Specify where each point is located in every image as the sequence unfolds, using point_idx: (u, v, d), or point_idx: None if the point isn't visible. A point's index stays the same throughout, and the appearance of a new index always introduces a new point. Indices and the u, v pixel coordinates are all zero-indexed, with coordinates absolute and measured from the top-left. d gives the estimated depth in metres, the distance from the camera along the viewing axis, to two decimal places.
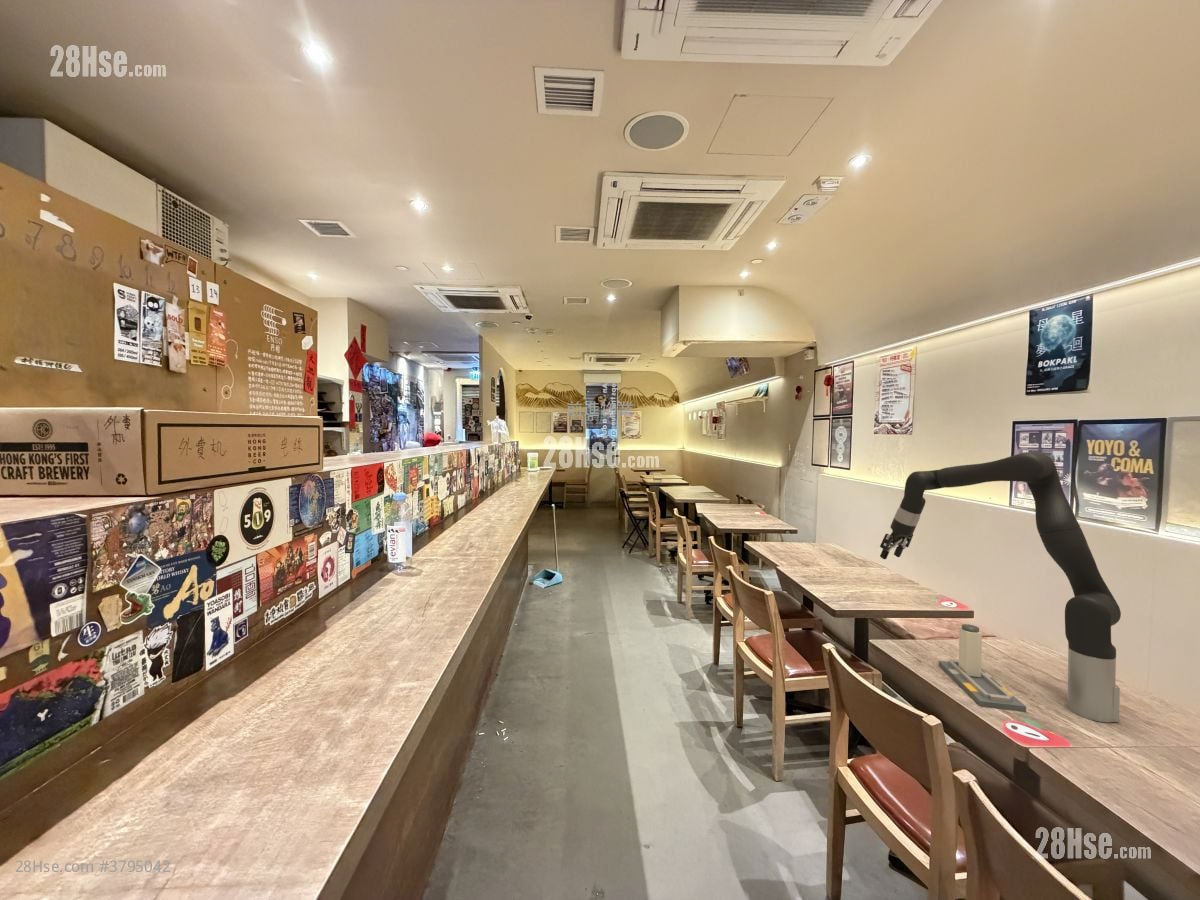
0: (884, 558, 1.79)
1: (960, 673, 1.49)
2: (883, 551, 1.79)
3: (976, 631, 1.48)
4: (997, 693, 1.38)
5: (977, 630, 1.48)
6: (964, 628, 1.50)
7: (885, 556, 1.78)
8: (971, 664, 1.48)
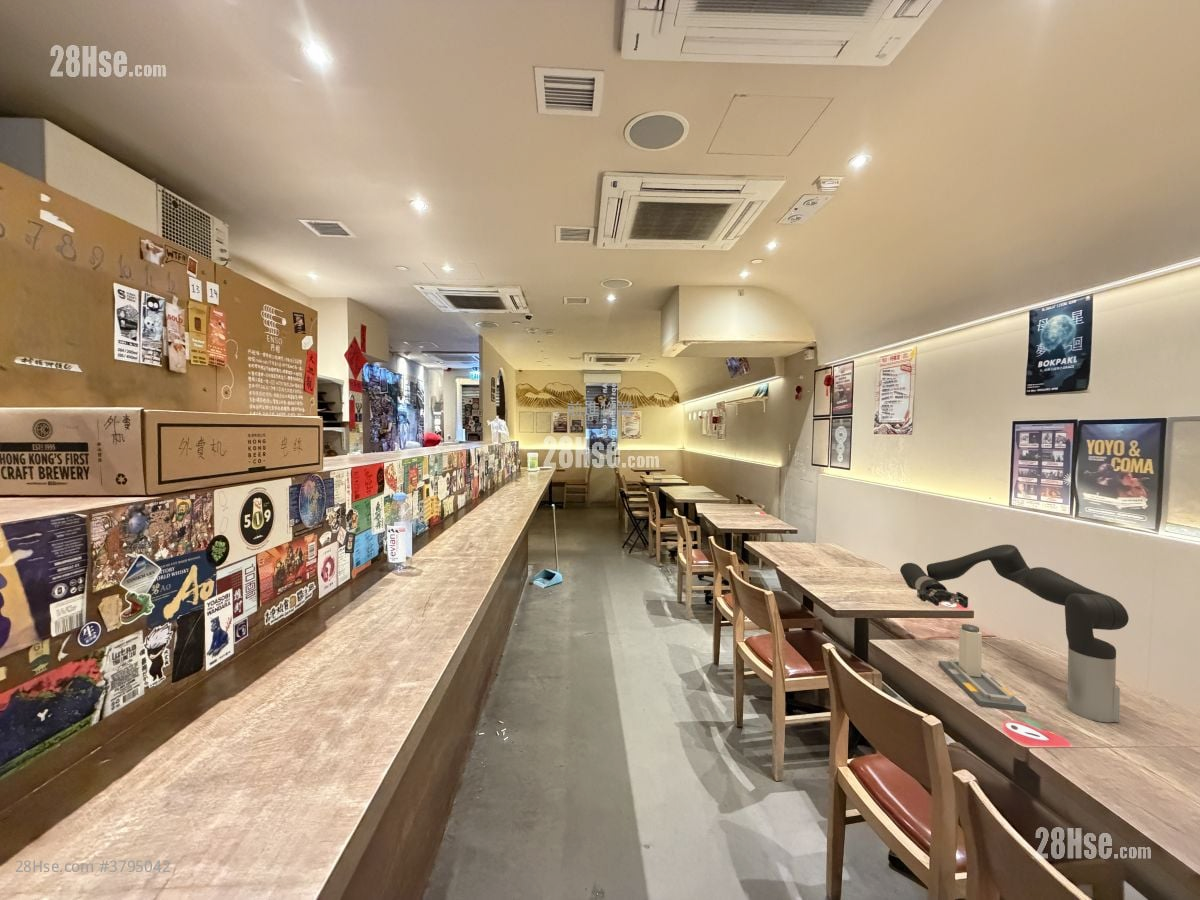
0: None
1: (960, 673, 1.49)
2: None
3: (976, 631, 1.48)
4: (997, 693, 1.38)
5: (977, 630, 1.48)
6: (964, 628, 1.50)
7: None
8: (971, 664, 1.48)
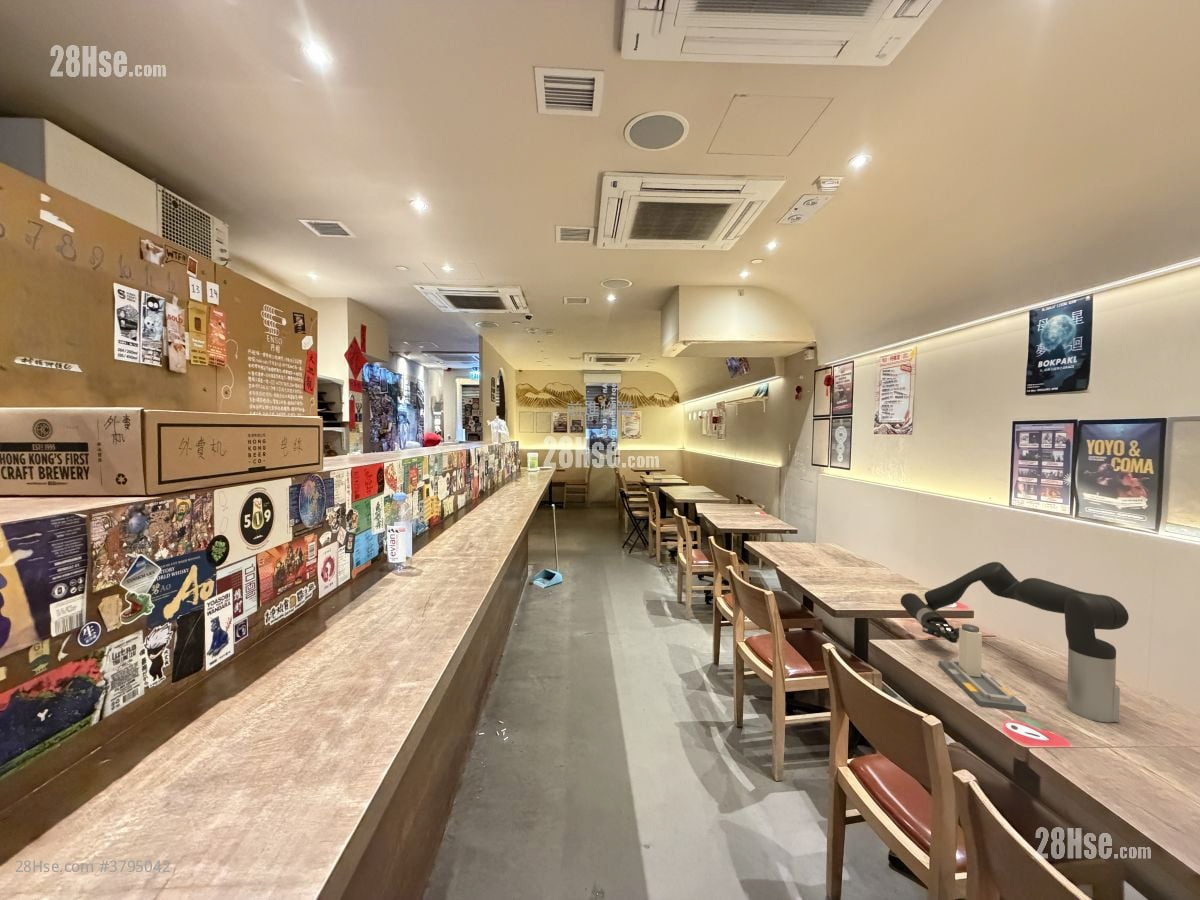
0: (955, 642, 1.60)
1: (960, 673, 1.49)
2: None
3: (976, 631, 1.48)
4: (997, 693, 1.38)
5: (977, 630, 1.48)
6: (964, 628, 1.50)
7: None
8: (971, 664, 1.48)
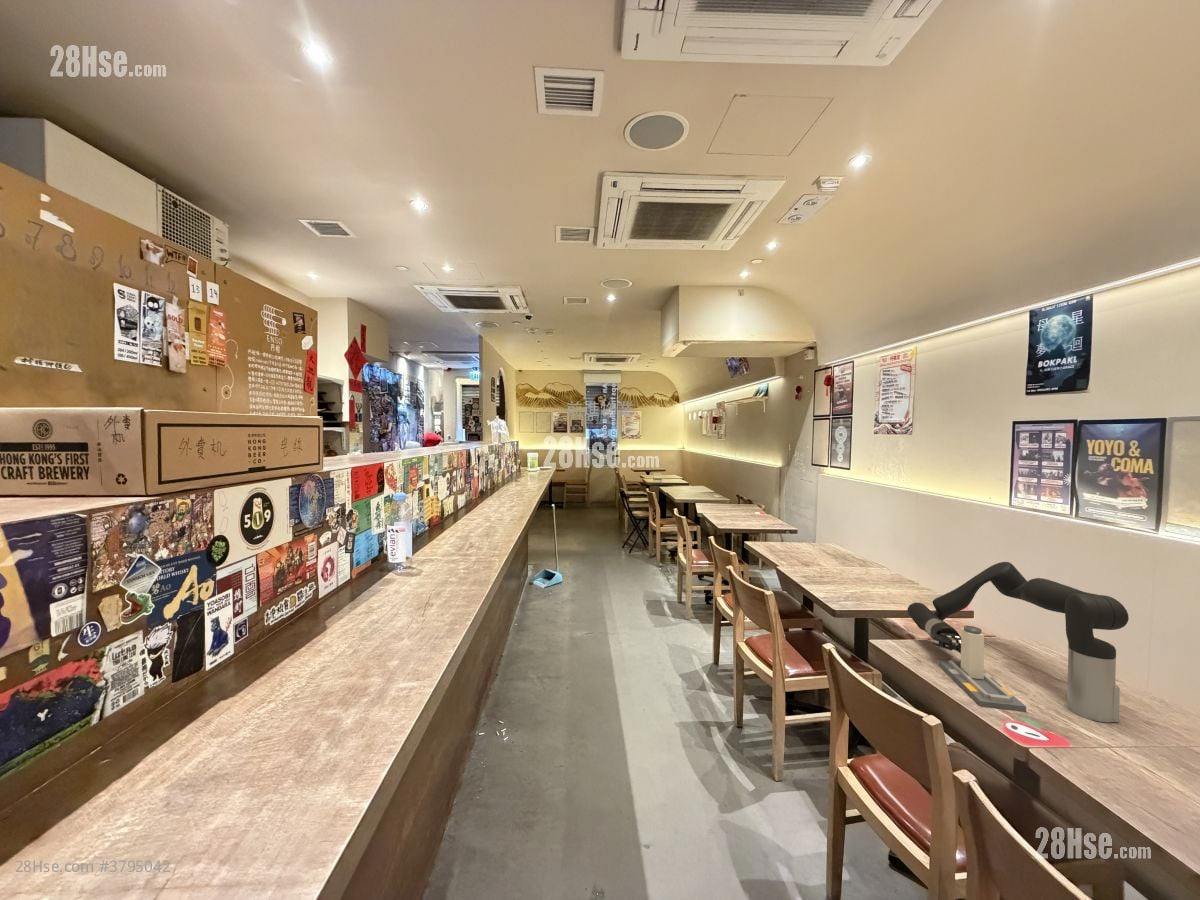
0: None
1: (960, 673, 1.49)
2: None
3: (978, 633, 1.46)
4: (997, 693, 1.38)
5: (979, 632, 1.47)
6: (966, 630, 1.48)
7: None
8: (973, 666, 1.46)
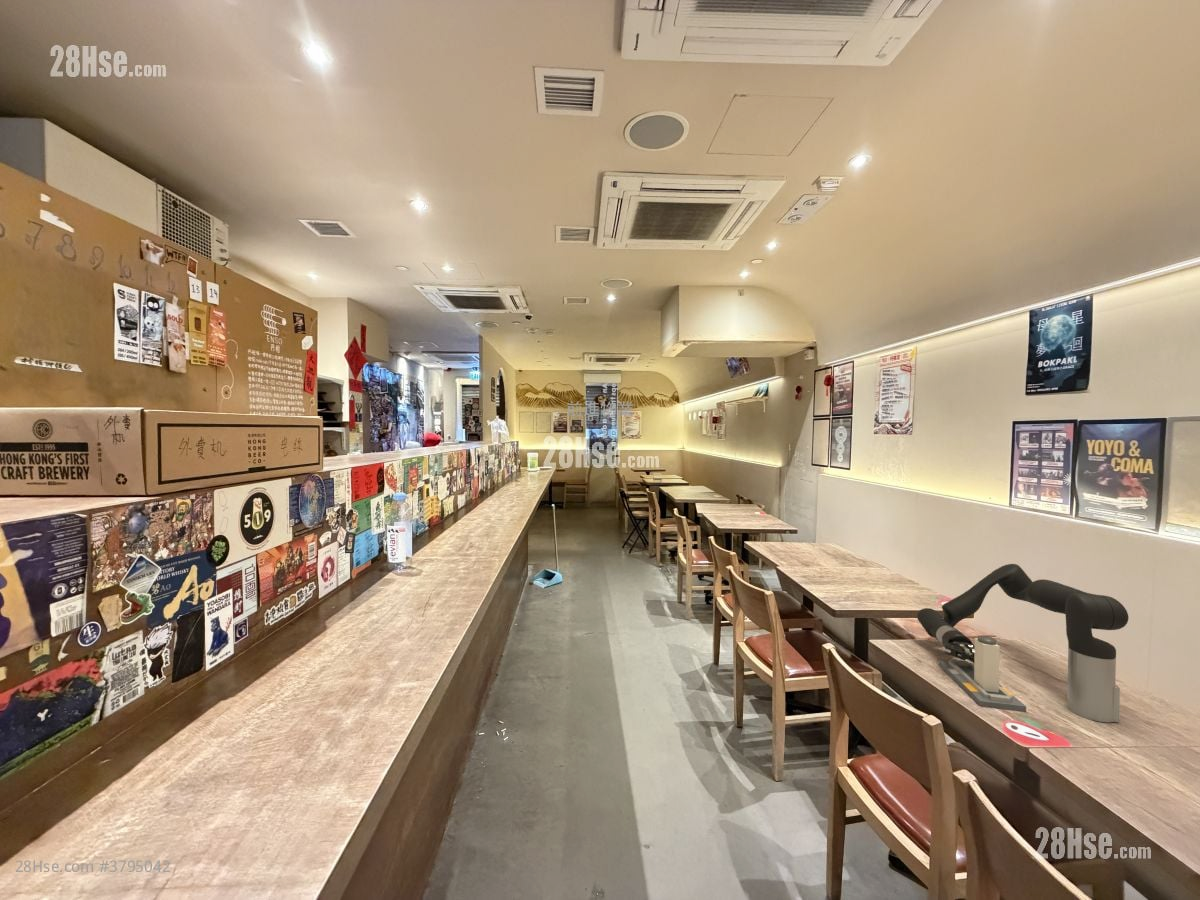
0: None
1: (960, 673, 1.49)
2: None
3: (993, 643, 1.39)
4: (997, 693, 1.38)
5: (994, 642, 1.39)
6: (980, 640, 1.40)
7: None
8: (988, 678, 1.39)
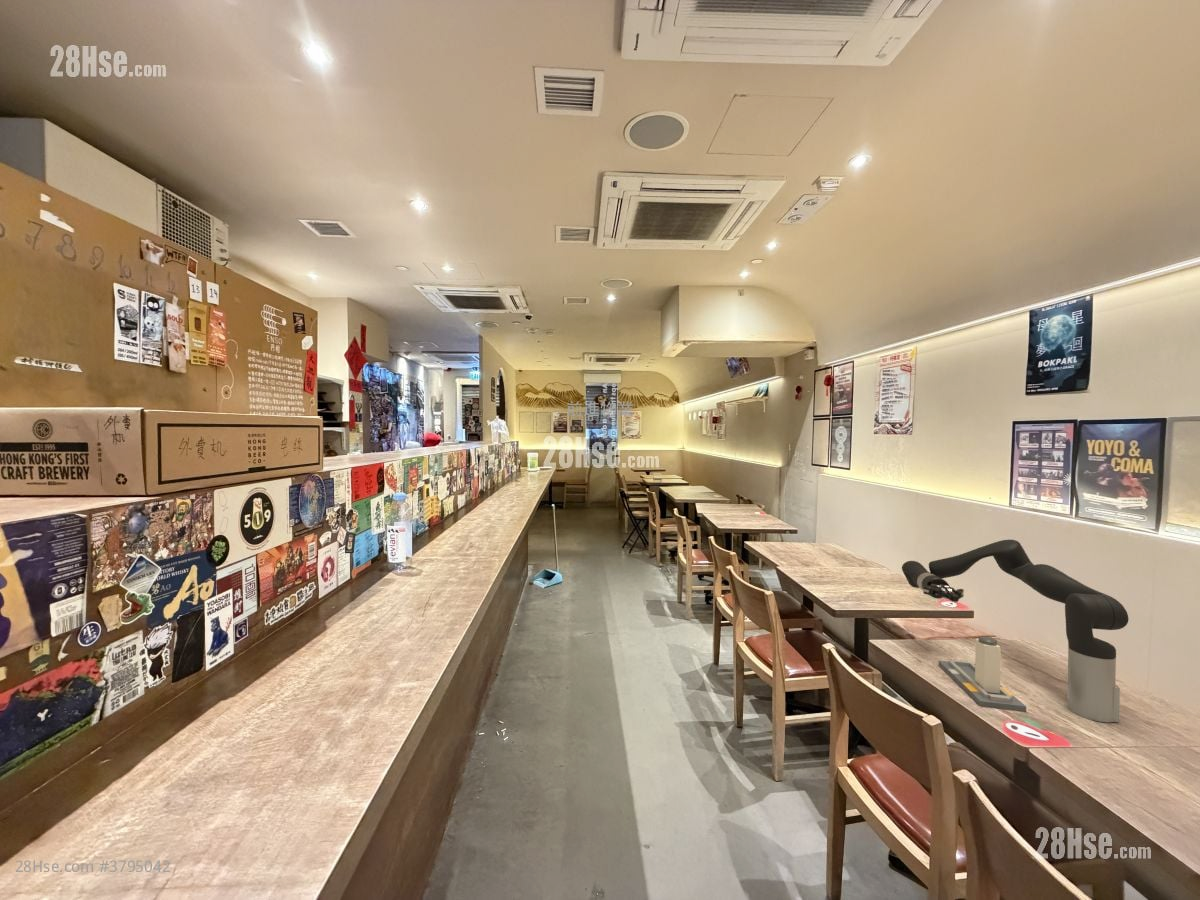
0: None
1: (960, 673, 1.49)
2: None
3: (994, 644, 1.38)
4: (997, 693, 1.38)
5: (995, 643, 1.38)
6: (981, 641, 1.40)
7: None
8: (989, 679, 1.38)
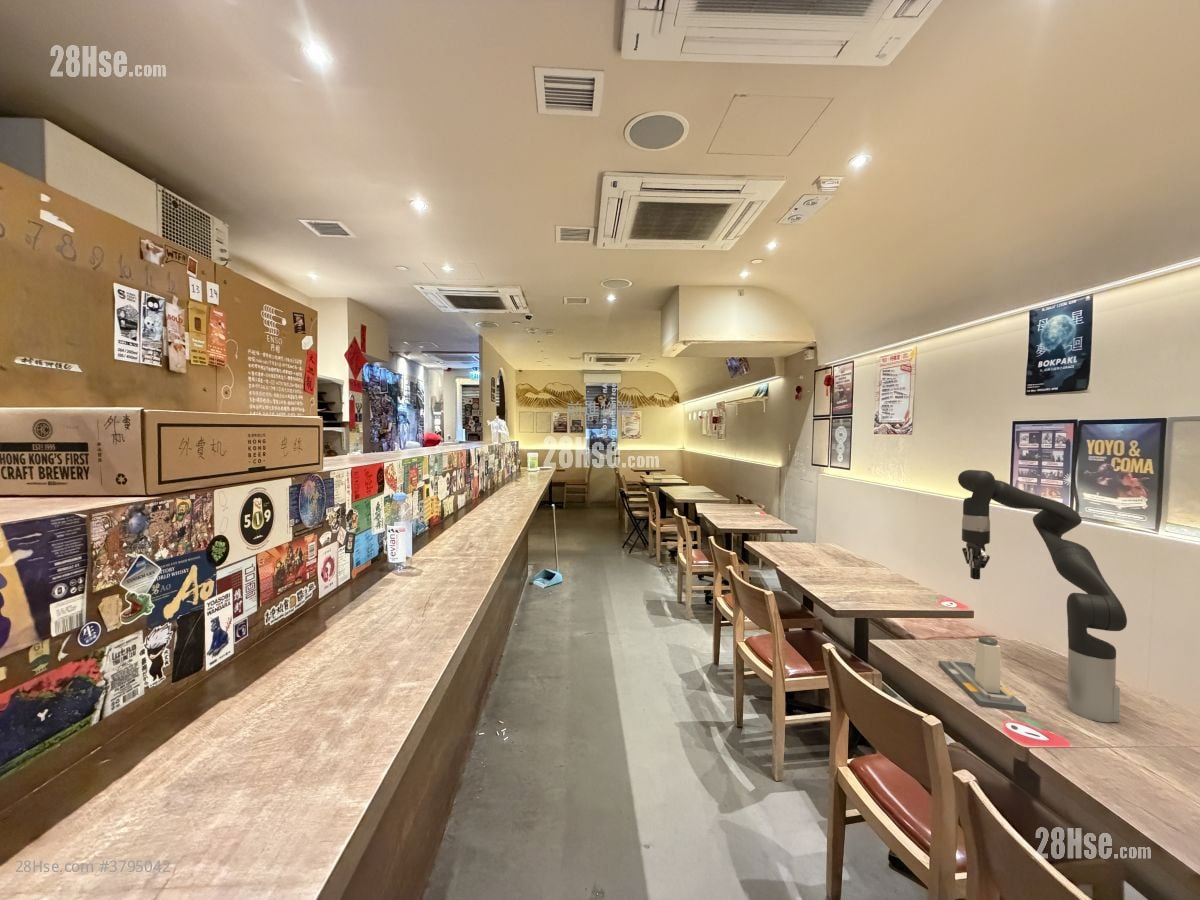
0: (971, 576, 1.62)
1: (960, 673, 1.49)
2: None
3: (994, 644, 1.38)
4: (997, 693, 1.38)
5: (995, 643, 1.38)
6: (981, 641, 1.40)
7: None
8: (989, 679, 1.38)
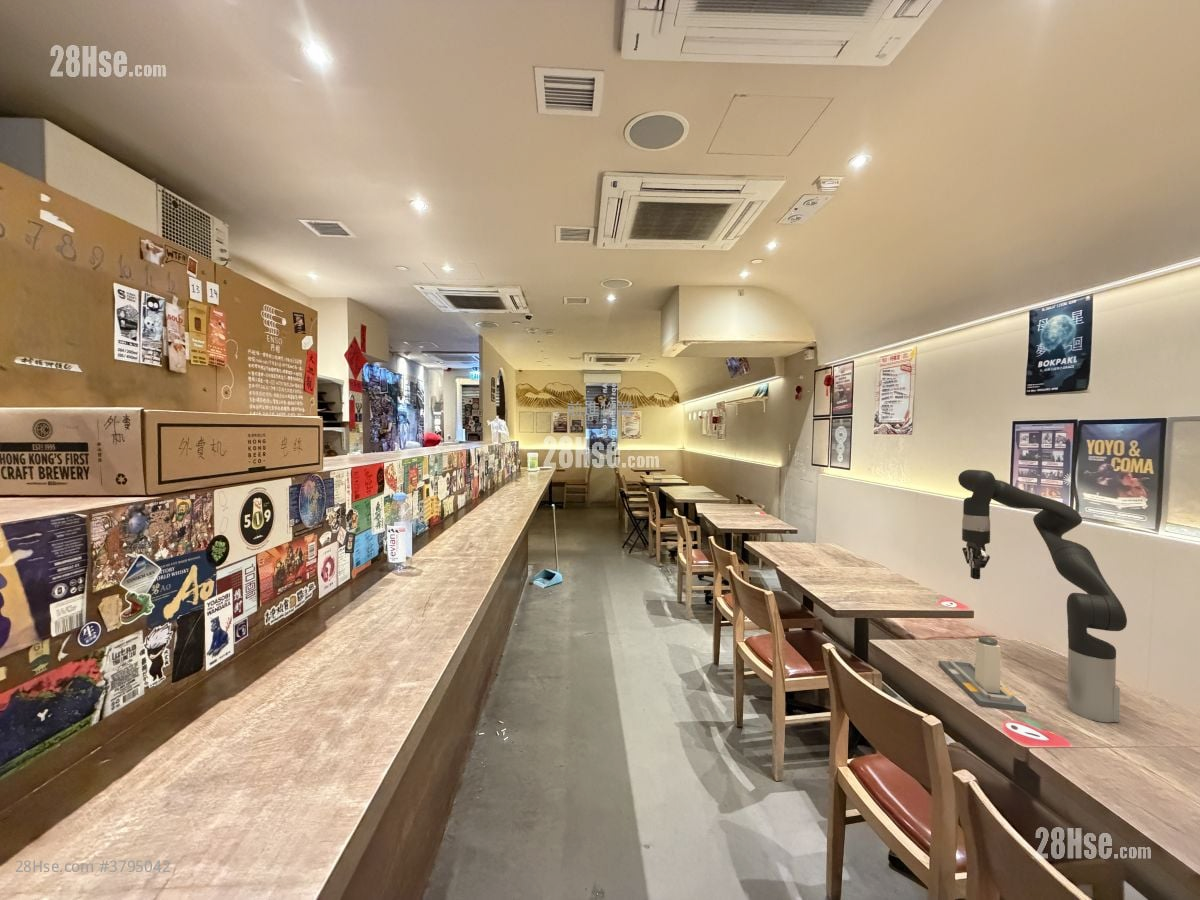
0: (971, 576, 1.62)
1: (960, 673, 1.49)
2: None
3: (994, 644, 1.38)
4: (997, 693, 1.38)
5: (995, 643, 1.38)
6: (981, 641, 1.40)
7: (971, 573, 1.62)
8: (989, 679, 1.38)
